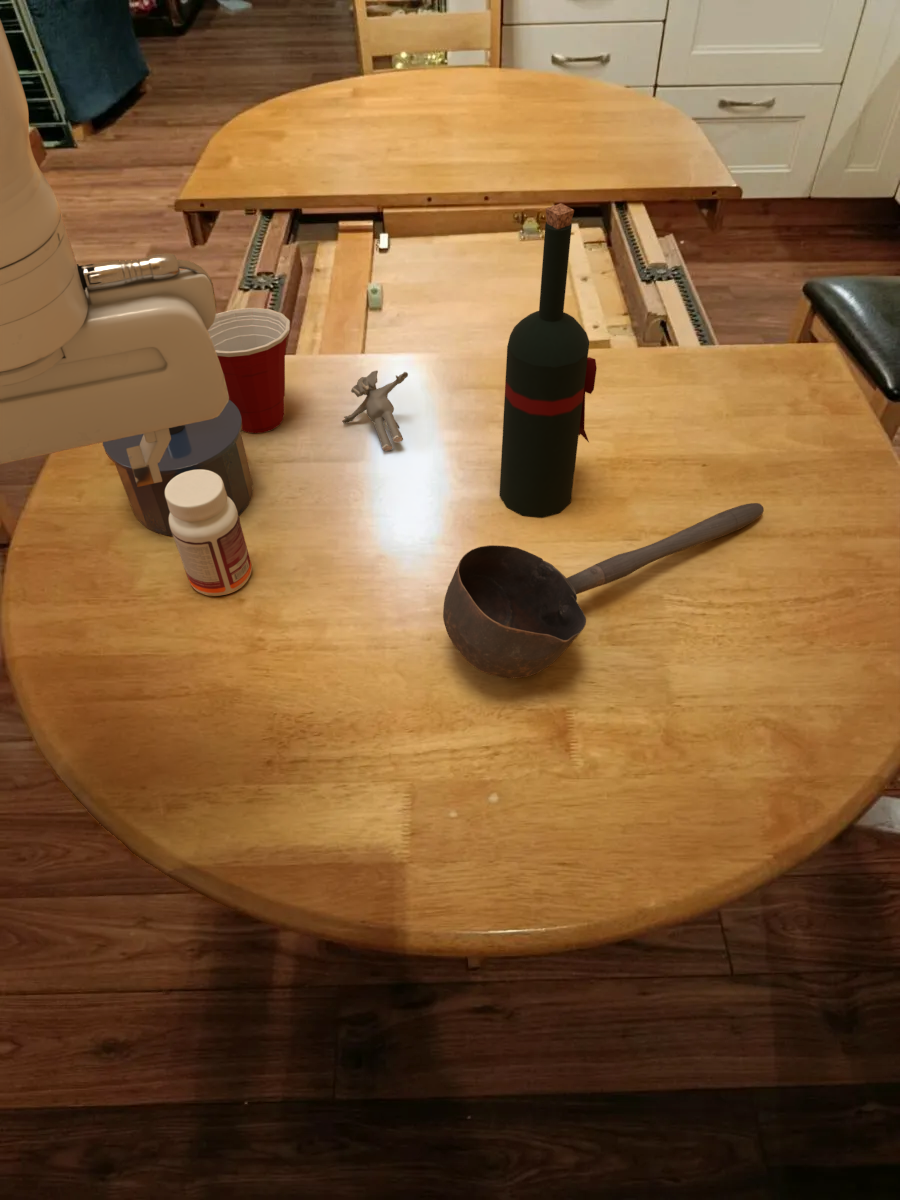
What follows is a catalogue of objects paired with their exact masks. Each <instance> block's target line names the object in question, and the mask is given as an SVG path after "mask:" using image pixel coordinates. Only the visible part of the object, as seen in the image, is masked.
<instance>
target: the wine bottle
mask: <svg viewBox="0 0 900 1200" xmlns="http://www.w3.org/2000/svg"><path fill="white" fill-rule="evenodd" d="M574 213H575V209H573V208H571V207H569V206H568V205H565V204H564V203H558V204H555V205H552V206H548V207H546V208H545V216H546V217H545V219H546V221H545V224H544V236H543V237H544V238H543V249H542V251H543V252H542V265H541V277H540V278H541V279H540V293H539V306H538V310H536V311H534V312H532V313H530V314H528V315H526V316H525V317H523V318H522V319H521V320H520V321H519V322H518V323H516V325H514V326H513V329H512V331H511V332H510V335H509V337H508V342H507V345H506V362H505V363H506V364H505V379H504V380H505V383H504V401H503V402H504V403H503V419H502V421H503V422H502V437H501V438H502V439H501V456H500V457H501V459H500V475H499V477H500V478H499V495H498V496H499V497H500V500H501V501H502V502H503V504H504V505H505V507H506V508H507V509H509V510H511V511H513V512H514V513H516V514H518V515H520V516H522V517H531V518H541V519H542V518H546V517H550V516H553V515H557V514H558V515H559V514H560V513H561V512H563V511H564V510H565V509H566V508H567V507H568V506H569V505H570V504H571V503H572V495H573V488H574V479H575V472H576V471H575V470H576V460H577V453H578V444H579V436H580V435H581V436H582V437H583V438H584V439H585V440H586V441H587V442H588V443H590V441H589V438H588V436H587V432H586V430H585V422H586V421H585V417H586V394H589V395H592V393H593V392H594V390H595V385H596V384H595V383H596V377H597V367H598V366H597V360H596V358H594V357H590V356H589V349H590V339H589V337H588V333H587V332H586V330H585V329H584V327H583V326H582V324H580V323H579V322H578V320H577V319H576V318H575V317H574V316H572V315H571V314H569V313H567V312H565V311H564V310H565V299H566V289H567V278H568V267H569V260H570V259H569V258H570V247H571V237H572V226H573V223H572V221H573V216H574Z"/></svg>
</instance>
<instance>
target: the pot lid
mask: <svg viewBox="0 0 900 1200" xmlns="http://www.w3.org/2000/svg"><path fill="white" fill-rule="evenodd" d="M169 431H170V435H171V440H170V442H169V444H168V446H167V448H166V450H165V452H164V454H163V456H162V458H161V460H160V462H158V467H159V471H160V474H161V475H166V474H175V473H181V472H185V471H189V470H192V469H196V468H198V467H201V466H204V465H206V464H208V463H210V462H212V461H214V460H216V459H217V458H219V457H220V456H222V455H223V454H224V453H226V452H227V451H228V450H229V449H230V448H231V447H232V446H233V445H234V444H235V442H236V441H237V439H238V438H239V436H240V433H241V434H242V431H243V430H242V417H241V414H240V411H239V409H238V408H237V406H236V405H235V404H234V403H233V402H232V401H231V400H229V401H228V403H227V404H226V406H225V407H224V409H223V411H222V412H221V413H220V415H219V416H218V417H216V418H213V419H209V420H205V421H200V422H195V423H191V424H186V425H181V426H177V427H172V428H169ZM143 435H144V434H139V435H134V436H130V437H125V438H120V439H116V440H111V441H106V442H102V446H103V449H104V452H105V454H106V456H107V457H108V458H109V459H110V461H111V462H112V463H114V465H115V464H117V465H118V466H120V467H122V468H124V469H126V470H129V471H132V468H131V464H130V461H129V457H128V454H127V450H126V449H127V448H131V447H135V446H139V445H140V442H141V440H142V437H143ZM132 472H133V471H132Z"/></svg>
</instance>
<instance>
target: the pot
mask: <svg viewBox="0 0 900 1200" xmlns="http://www.w3.org/2000/svg"><path fill="white" fill-rule="evenodd" d="M114 466H115V468H116V471H117V473H118V476H119V479H120V482H121V484H122V486H123V489H124V491H125V494H126V497H127V499H128V501H129V504H130V506H131V509H132V512H133V514H134V517H136V519H137V520H138V522H139V523H140V524H141V525H142V526H143V527H145V528H146V529H148V530H149V531H151V532H154V533H156V534H159V535H164V536H168V537H173V534H172V532H171V529H170V525H169V514H170V510H169V508H168V504H167V501H166V498H165V488H166V486H167V484H168V483H169V482H170V480H172V479H173V478H174V477H175V476H177V475H179V474H181V473H183V472H181V473H175V474H166V475H161V478H162V482H158V483H154V484H149V485H144V486H139V487H137V484H136V481H135V477H134V474H133V472H132V471H129V470H126V469H124V468H122V467H120V466H118V465H117V464H115V463H114ZM198 469H202V470H209V471H212V472H214V473H216V474H217V475H219V476H220V477H221V479H222V481H223V484H224V487H225V491H226V494H227V496H228V497H229V498H230V499H231V500H232V501H233V502H234V504H235V506H236V509H237V512H238V516H239V517H240V516H241V515H242V514H243V513H244V512H245V510H246V509H247V508H248V507H249V505H250V503H251V501H252V498H253V493H254V487H253V486H254V482H253V478H252V474H251V469H250V464H249V461H248V456H247V452H246V449H245V444H244V440H243V435H242V432H241V433H240V436H239V438H238V439H237V441H236V442H235V444H234V445H233V446H232V447H231V448H230V449H229V450H228V451H227V452H226V453H224V454H223V455H222V456H220V457H219V458H217V459H216V460H214V461H212V462H210V463H208V464H206V465H204V466H201V467H198V468H196V469H192V470H198ZM189 471H190V470H189ZM185 472H186V471H185ZM152 479H153V478H152Z"/></svg>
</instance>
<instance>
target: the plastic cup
mask: <svg viewBox="0 0 900 1200" xmlns="http://www.w3.org/2000/svg"><path fill="white" fill-rule="evenodd" d="M290 324H291V320H290V319H289V318H288V317H287V316H285V314H284V313H282V312H279V311H276V310H273V309H271V308H260V307H259V308H258V307H244V308H233V309H229V310H225V311H222V312H218V313H216V316H215V319H214V322H213V324H212V325H211V327H210V328H209V329H208V333H209V335H210V338H211V341H212V343H213V346H214V348H215V351H216V354H217V356H218V359H219V362H220V365H221V368H222V371H223V375H224V378H225V382H226V386H227V390H228V395H229V400H231V401H232V402H233V403H234V404H235V405H236V406H237V408H238V409H239V411H240V414H241V417H242V431H243V432H244V433H250V434H264V433H268V432H270V431H274V430H275V429H276V428H278V427H279V426H280V425H281V424H282V423H283V421H284V416H285V396H286V348H287V339H288V335H289V334H290V328H291V327H290V326H291V325H290Z"/></svg>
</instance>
